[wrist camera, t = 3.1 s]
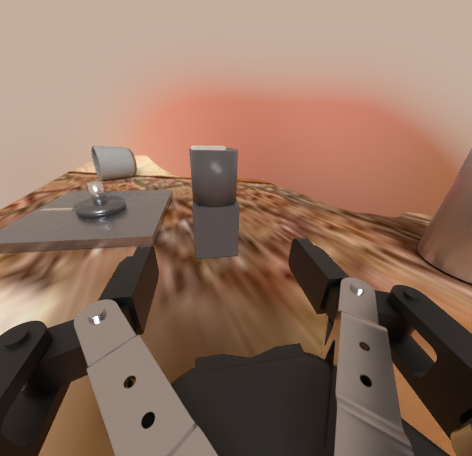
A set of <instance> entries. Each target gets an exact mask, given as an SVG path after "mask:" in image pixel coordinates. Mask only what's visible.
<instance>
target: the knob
mask: <svg viewBox="0 0 472 456" xmlns="http://www.w3.org/2000/svg"><path fill="white" fill-rule="evenodd" d="M189 151H190V164H191V178H192V191H193V206H192V211H193V224H194V237H195V249H196V259H197V258H212V257H227V256H237V253H238V230H239V204H238V202H237V200H236V192H237V162H238V150H236V149H232V148H226V147H225V146H191V149H189Z"/></svg>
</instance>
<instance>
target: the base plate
mask: <svg viewBox="0 0 472 456" xmlns="http://www.w3.org/2000/svg"><path fill="white" fill-rule="evenodd" d="M87 186H88V189H89V191H73V192H69V193H67V194H65V195H63V196H61V197H60V198H58V199H56V200H54V201H52V202H50V203H48V204H46V205H45V206H43V207H41V208H39V209H37V210H35V211H33V212H32V213H30V214H28V215H26V216H24V217H22V218H20V219H19V220H17V221H15V222H13V223H11V224H9V225H7V226H5V227H4V228H2V229H0V253H13V252H31V251H50V250H68V249H87V248H105V247H124V246H142V245H154V243H155V241H156V238H157V235H158V233H159V230H160V228H161V225H162V223H163V220H164V217H165V215H166V212H167V210H168V207H169V204H170V202H171V199H172V197H173V194H172V190H141V191H104V188H103V184H102V182H101V181H93V182H88V183H87Z"/></svg>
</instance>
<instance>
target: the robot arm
mask: <svg viewBox="0 0 472 456" xmlns="http://www.w3.org/2000/svg"><path fill="white" fill-rule="evenodd" d="M417 251H418V252H419V254H420V255H421V256H422V257H423V258H424V259H425V260H426V261H428V262H429V263H430V264H432V265H433V266H435V267H437V268H438V269H440V270H442V271H444V272H446V273H448V274H450V275H452V276H454V277H456V278H459V279H461V280H463V281H466V282H469V283H471V284H472V149H471V151H470V152H469V154H468V156H467V158H466V160H465V161H464V163H463V165H462V167H461V169H460V170H459V172H458V174H457V176H456V178H455V179H454V181H453V183H452V185H451V186H450V189H449V190H448V192H447V194H446V196H445V197H444V199H443V201H442V203H441V204H440V206H439V208H438V210H437V212H436V213H435V215H434V217H433V218H432V220H431V222H430V224H429V226H428V227H427V229H426V231H425V233H424V235H423V237H422V238H421V240H420V242H419V244H418V246H417ZM289 267H290V270H291V272H292V273H293V275H294V277H295V278H296V280H297V282H298V283H299V285H300V286H301V288H302V290H303V291H304V293H305V295H306V296H307V298H308V300H309V301H310V303H311V305H312V306H313V308H314V310H315V311H316V313H317V314H323V313H326V314H327V316H328V318H327V320H326V327H325V333H324V340H323V346H322V352H321V357H318V356H316V355H313V354H310V353H306V352H304V351H303V349H302V347H301V345H300V343H299V344H292V345H285V346H278V347H274V348H272V349H270V350H268V351H266V352H263V353H261V354H259V355H257V356H255V357H252V358H247V357H240V356H232V355H225V354H221V355H214V356H207V357H200V358H196V361H195V368H193V369H191V370H189V371H187V372H185V373H184V374H182V375H181V376H180V377H178V378H177V379H176V380H175V381H174V382H173V383H172V384H171V385H170V383H169V381H168V380H167V378H166V377H165V375H164V373H163V372H162V370H161V369H160V367H159V366H158V364H157V362H156V361H155V359H154V358H153V356H152V354H151V353H150V351H149V350H148V348H147V346H146V345H145V343H144V342H143V340H142V338H141V337H140V336H139V334H143V333H144V329H145V325H146V322H147V318H148V314H149V311H150V307H151V303H152V300H153V296H154V292H155V289H156V285H157V282H158V276H159V270H158V264H157V259H156V254H155V249H154V247H153V246H143V247H137V249H136V251H135V253H134V255H133V256H131V257H126V258H125V259H124V260H123V261H122V262H120V263H119V265H118V267H117V268H116V270H115V272H114V274H113V275H112V278H111V279H110V280H109V282H108V284H107V286H106V287H105V289H104V291H103V293H102V294H101V296H100V298H99V299H98V301H96V302H94V303H91V304H90V305H88V306H86V307H85V308H84V309H82V310H81V311H80V312H79V313H78V314H77V316H76V318H75V319H74V320H71V321H68V322H65V323H62V324H59V325H56V326H53V327H50V328H47V327H46V325H45V324H44V323H43V322H41V321H30V322H26V323H23V324H20V325H17V326H15V327H13V328H11V329H10V330H8V331H6V332H5V333H3V334H2V335H1V336H0V456H38V455H39V452H40V450H41V448H42V446H43V443H44V441H45V439H46V437H47V434H48V432H49V430H50V428H51V425H52V423H53V421H54V419H55V416H56V414H57V412H58V410H59V407H60V405H61V403H62V401H63V398H64V396H65V394H66V392H67V389H68V387H69V385H70V383H71V382H72V381H74V380H76V379H79V378H81V377H83V376H85V375H88V376H89V379H90V382H91V385H92V388H93V391H94V394H95V397H96V400H97V403H98V406H99V409H100V412H101V415H102V417H103V420H104V423H105V426H106V429H107V432H108V435H109V438H110V441H111V444H112V447H113V450H114V453H115V456H450V455H448V454H447V453H446V452H444V451H443V450H442V449H441V448H439V447H438V446H437V445H436V444H434V443H433V442H432V441H430V440H429V439H428V438H427V437H425V436H424V435H423V434H421V433H420V432H419V431H418V430H416V429H415V428H414V427H412V426H411V425H410V424H409V423H407V422H406V421H405V420H403V419H402V418H401V415H400V409H399V402H398V396H397V389H396V383H395V376H394V370H393V364H392V362H393V363H394V364H395V366H396V367H397V368H398V370H399V371H400V372H401V374H402V375H403V377H404V378H405V379H406V381H407V382H408V383H409V385H410V386H411V387H412V389H413V390H414V391H415V393H416V394H417V395H418V397H419V398H420V400H421V401H422V402H423V404H424V405H425V406H426V408H427V409H428V410H429V412H430V413H431V414H432V416H433V417H434V418H435V420H436V421H437V422H438V424H439V425H440V427H441V428H442V429H443V431H444V432H445V433H446V435H447V436H448V437H449V439H450V440H451V444H452V447H453V450H454V452H455V454H456V456H472V334H471V333H470V332H469V331H468V330H467V329H465V328H464V327H463V326H462V325H461V324H459V323H458V322H457V321H456V320H454V319H453V318H452V317H451V316H450V315H448V314H447V313H446V312H445V311H444V310H442V309H441V308H440V307H439V306H438V305H436V304H435V303H434V302H433V301H431V300H430V299H429V298H428V297H427V296H425V295H424V294H423V293H421V292H420V291H418V290H416V289H414V288H411V287H408V286H405V285H395V286H393V288H392V290H391V291H390V293H388V292H381V291H375V290H373V288H372V287H371V286H370V285H368V284H367V283H365V282H364V281H362V280H359V279H356V278H350V277H348V275H347V274H346V273H345V272H344V271H343V270H342V269H341V268H340V267H339V266H338V265H337V264H336V263H335V262H333V260H332V259H331V258H330V257H329V255H328V254H327V253H326V252H325V251H324V250H322V249H321V248H319V247H317V246H316V245H315V246H314V245H313V244H312V243H311V242H310V241H309V239H308V238H295V239H293V241H292V245H291V250H290V255H289ZM414 330H416V331H417V332H418V333H419V334H420V335H421V336H422V337H423V338H424V339H425V340H426V341H427V342H428V343H429V344H430V345H431V346H432V347H433V349H434V350H435V352H436V355H437V361H436V362H434V361H433V360H432V359H431V358H430V357H429V355H428V354H427V353H426V352H425V351H424V350H423V349H422V348H421V347H420V346H419V345H418V343H417V342H416V341H415V340H414V339H413V338H412V337H411V335H412V333H413V332H414Z"/></svg>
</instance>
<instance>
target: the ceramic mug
mask: <svg viewBox="0 0 472 456" xmlns="http://www.w3.org/2000/svg"><path fill="white" fill-rule="evenodd" d="M92 158H93V162H94V166H95V169H96V172H97V174H98V177H99V178H100V180H102V181H104V180H111V179H118V178H127V177H132V176H134V175H135V174H136V171H137V167H136V161H135V157H134V155H133V153H132V151H131V150H130V149H128V148H123V147H103V146H93V147H92Z"/></svg>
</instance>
